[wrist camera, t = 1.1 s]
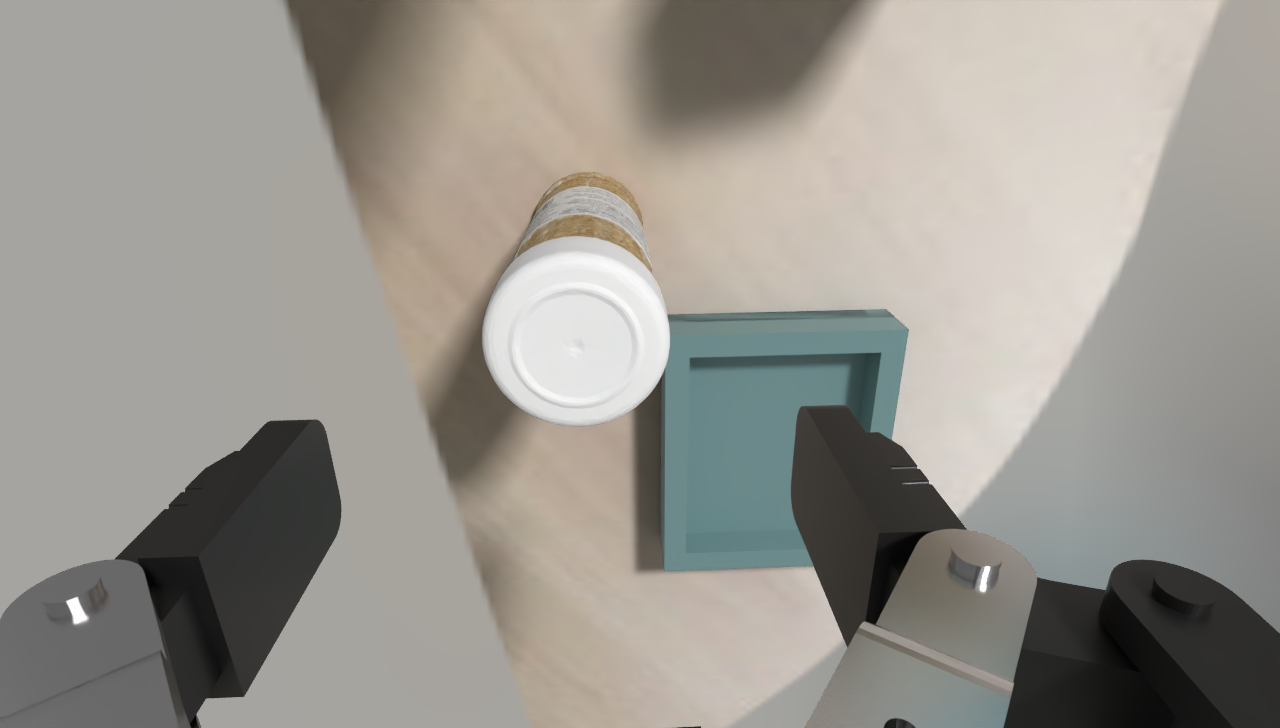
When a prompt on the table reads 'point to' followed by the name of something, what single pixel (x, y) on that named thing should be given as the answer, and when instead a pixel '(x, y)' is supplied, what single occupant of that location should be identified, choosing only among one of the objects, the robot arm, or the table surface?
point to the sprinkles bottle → (579, 309)
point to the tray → (759, 423)
